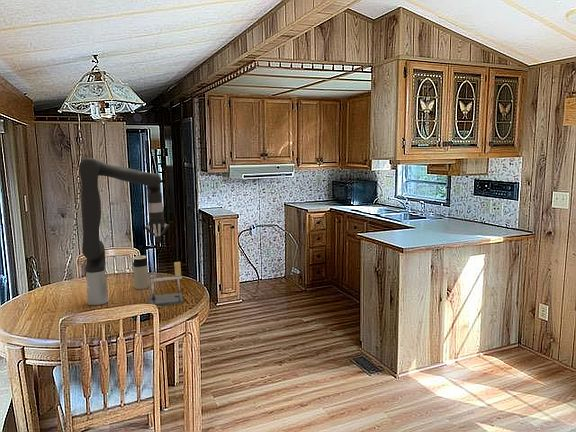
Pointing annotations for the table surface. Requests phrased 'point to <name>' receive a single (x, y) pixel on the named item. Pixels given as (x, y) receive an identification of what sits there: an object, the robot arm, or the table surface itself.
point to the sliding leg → (178, 273)
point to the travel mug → (140, 272)
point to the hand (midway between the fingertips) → (158, 242)
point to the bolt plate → (166, 298)
